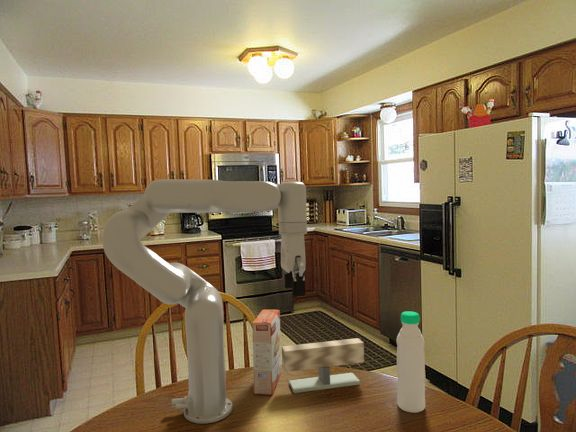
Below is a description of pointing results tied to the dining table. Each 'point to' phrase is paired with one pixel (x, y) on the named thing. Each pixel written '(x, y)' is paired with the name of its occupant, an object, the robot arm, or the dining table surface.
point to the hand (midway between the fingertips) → (294, 291)
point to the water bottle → (410, 364)
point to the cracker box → (266, 351)
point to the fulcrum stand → (323, 381)
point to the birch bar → (322, 354)
